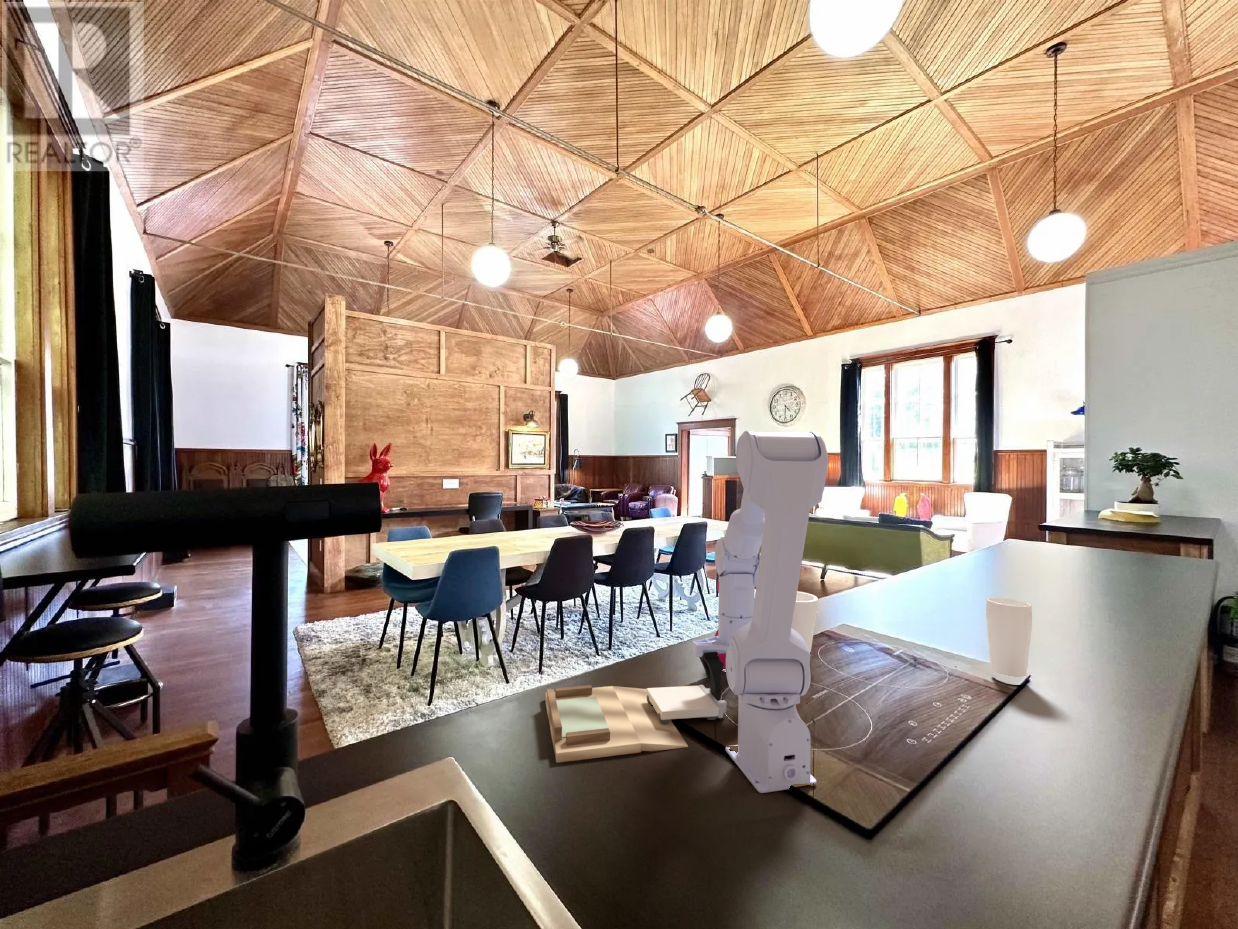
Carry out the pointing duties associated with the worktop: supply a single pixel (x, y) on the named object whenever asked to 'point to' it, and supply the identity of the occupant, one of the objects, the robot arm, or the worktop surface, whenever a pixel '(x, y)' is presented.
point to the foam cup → (805, 616)
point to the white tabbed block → (685, 703)
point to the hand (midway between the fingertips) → (735, 696)
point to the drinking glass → (1009, 635)
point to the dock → (605, 723)
